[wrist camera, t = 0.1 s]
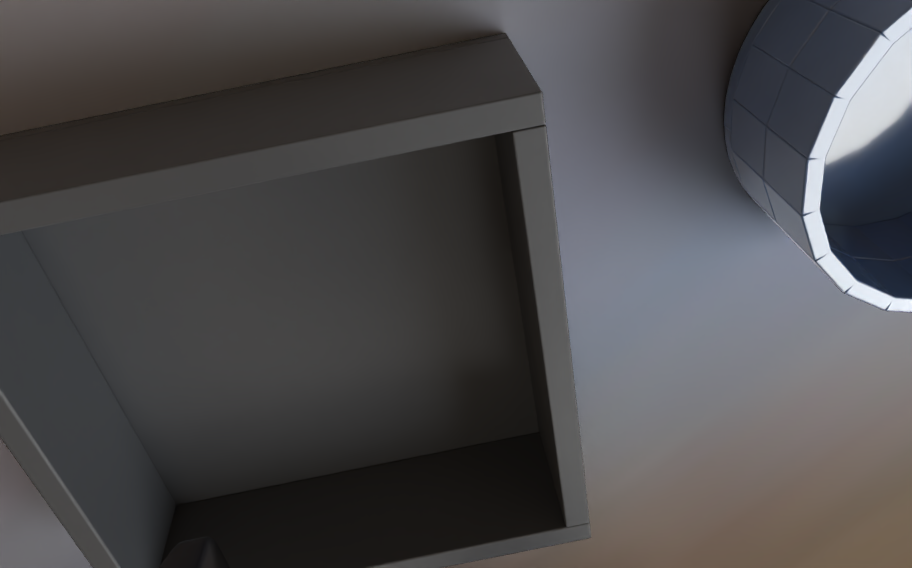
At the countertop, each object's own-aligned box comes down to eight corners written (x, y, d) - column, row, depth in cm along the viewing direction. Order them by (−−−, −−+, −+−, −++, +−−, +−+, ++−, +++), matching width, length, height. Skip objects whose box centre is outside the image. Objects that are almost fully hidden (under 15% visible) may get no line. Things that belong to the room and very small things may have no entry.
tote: (558, 433, 29) (591, 538, 25) (167, 511, 29) (135, 630, 25) (506, 32, 21) (543, 91, 17) (-47, 145, 21) (-148, 231, 17)
